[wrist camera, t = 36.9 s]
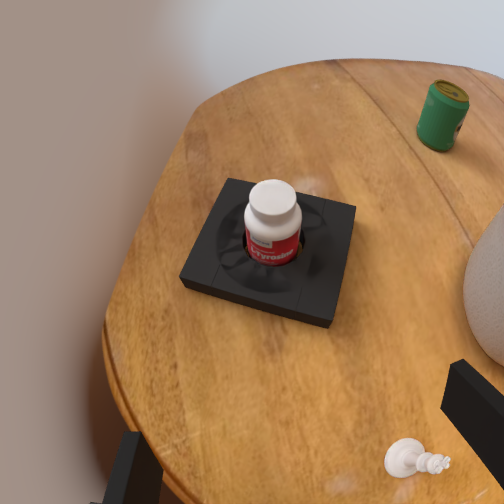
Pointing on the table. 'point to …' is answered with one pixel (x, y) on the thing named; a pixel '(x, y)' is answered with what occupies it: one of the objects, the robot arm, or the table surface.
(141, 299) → the table surface
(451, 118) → the beverage can
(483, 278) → the planter
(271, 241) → the pill bottle
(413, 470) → the chess piece
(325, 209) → the black pad
